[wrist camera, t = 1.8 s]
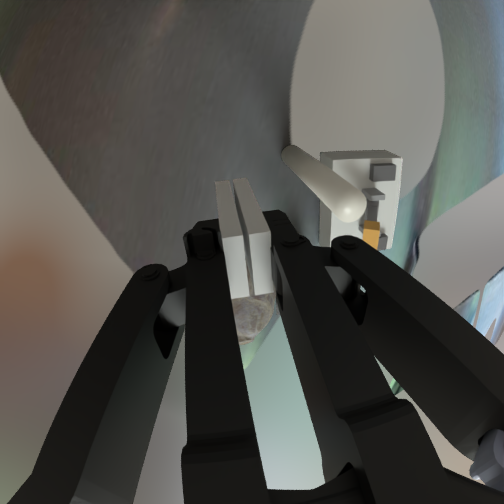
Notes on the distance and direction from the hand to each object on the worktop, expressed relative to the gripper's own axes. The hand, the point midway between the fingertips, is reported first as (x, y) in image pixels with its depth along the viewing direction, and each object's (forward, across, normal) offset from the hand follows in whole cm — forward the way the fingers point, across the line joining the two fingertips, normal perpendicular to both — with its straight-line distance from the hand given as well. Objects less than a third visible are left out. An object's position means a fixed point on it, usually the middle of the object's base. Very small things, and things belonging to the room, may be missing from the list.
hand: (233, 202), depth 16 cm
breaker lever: (+20, +21, -12) cm, 31 cm away
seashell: (+27, +1, -27) cm, 38 cm away
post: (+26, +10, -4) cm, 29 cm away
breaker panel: (+26, +21, -12) cm, 36 cm away
